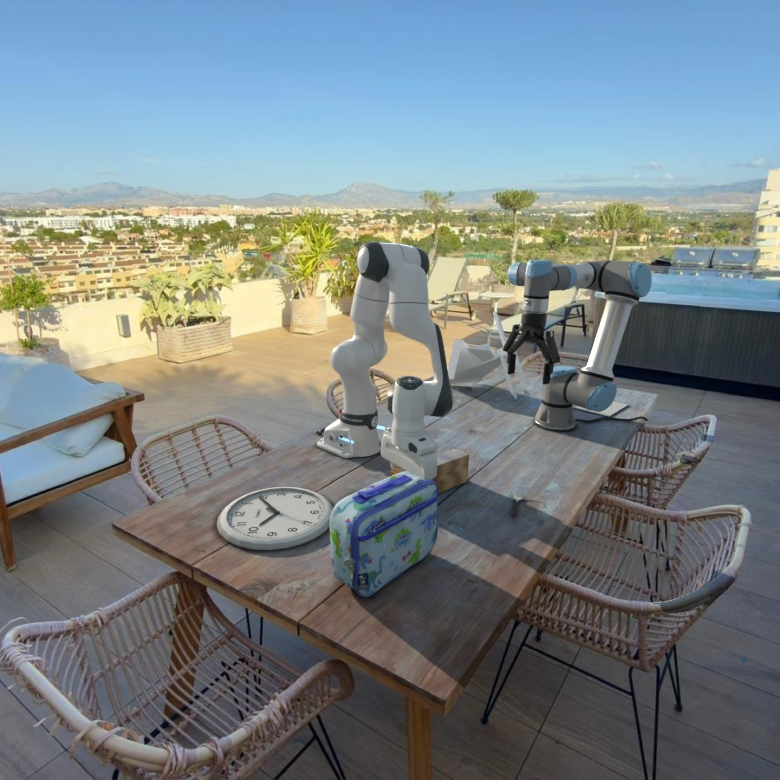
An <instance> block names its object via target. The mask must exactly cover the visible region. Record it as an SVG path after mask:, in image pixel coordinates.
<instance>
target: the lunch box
mask: <svg viewBox="0 0 780 780" xmlns="http://www.w3.org/2000/svg"><path fill="white" fill-rule="evenodd" d="M438 531H439V493H438V488H437V485H436V483H435V482H434V481H431V480H425V479H423V478H421V477H419V476H417V475H415V474H414V473H411V472H409V471H404V472H400V473H398V474H395V475H393V476H391V477H390V476H388V477H386V478H384V479H382V480H379V481H377V482H375V483H373V484H371V485H368V486H366V487H364V488H362V489H360V490H358V491H356V492H353V493H352V494H350V495H347V496H345V497H343V498H342V499H340V500H339V501H338V502H337V503H335V505H334V506H333V510H332V513H331V516H330V526H329V541H330V565H331V572H332V575H333V577H334V579H335V580H337V581H339V582H341V583H343V584H345V585H347V586H348V587H349V588H351V589H352V590H354V592H355V594H357V595H359V596H360V597H363V598H369V597H371V596H374V595H375V594H376V593H377V592H378V591H380V590H381V589H383V588H384V587H385V586H386V585H387V584H389V583H390V582H392V581H393V580H395V579H397V578H398V577H399V576H400V575H402V574H403V573H404V572H405V571H406V570H408V569H409V568H410V567H412V566H413V565H416V564H417V563H419V562H421V561H422V560H424V559H425V558H426V557H428V555H430V553H431V552H432V550H433V549H434V547H435V545H436V542H437V540H438Z"/></svg>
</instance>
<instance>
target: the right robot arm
mask: <svg viewBox="0 0 780 780" xmlns="http://www.w3.org/2000/svg"><path fill="white" fill-rule="evenodd" d="M507 280H508V282H509V283H510V285H513V286H517V287H524V290H523V298H522V307H521V308H522V309H521V310H522V313H521V320H520V323H521V324H520V323H516V324H513V325H512V328H511V332H510V333H509V336H508V338H507V339H506V340H507V341H506V343H505V345H504V347H503V346H502V348H503V351H505V352H507V354H508V356H507V365H508V374H509V375H514V374H515V373H516V366H515V364H516V354H513V353H516V352H517V351H518V349H519V348H520V347H522V345H523V344H524V343H525V342H528V343H529V342H530V343H532V344H535V345H536V346H538V348H539V350H540V352H541V354H542V356H543V358H544V359H545V363H544V366H543V374H542V383H541V384H542V394H541V402H540V405H539V407H538V409H536V408H535V409H534V412H535V417H534V424H535V425H536V426H537V427H539V428H542V429H544V430H549V431H556V432H567V431H572V430H574V429H575V428H576V422H579V423H594V422H596V421H602V420H610V421H611V420H612V421H621V422H632V421H633V422H634V421H637V420H644V421H646V422H649V419H648V418H647V417H645V416H637V417H633V418H621V417H612V416H609V417H608V416H600V417H597V418H594V419H581V418H575V417H576V416H575V413H574V407H573V406H575V407H576V406H579V407H582V408H585V409H587V410H592V411H596V412H601V411H604V410H606V409H607V408H608V407H609V406H610V405H611V404H612V402H613V401H614V402H615V399H616V396H617V394H618V393H617V392H618V390H617V389H618V387H617V384H616V383H615V382H614V379H615V377H614V374H613V372H612V371H613V368H614V365H615V362H616V359H617V356H618V352H619V349H620V346H621V343H622V339H623V336H624V333H625V331H626V327H627V324H628V321H629V318H630V315H631V311H632V309H633V307H634V306H636V305H638V304H639V302H640V300H641V299H642V298H645V297H647V296H648V294H649V293H650V290H651V288H652V282H653V278H652V271H651V269H650V267H649V266H648V264H646V263H644V262H639V261H630V260H629V261H626V260H610V259H603V260H601V259H600V260H594V261H593V260H592V261H580V262H577V263H576V264H573V263H572V264H571V263H553V261H552V260H549V259H529V260H528V261H527V262H521V261H520V262H514V263H512V264H511V265H510V266H509V268H508V270H507ZM574 287H575V288H576V289H581V290H582V289H583V290H589V291H594V292H599V293H604V295H603V297H604V299H605V300H606V302H605V306H604V310H603V312H602V316H601V319H600V322H599V325H598V328H597V333H596V334H595V338H594V341H593V343H592V348H591V351H590V354H589V357H588V360H587V364H586V366H584V367H582V368H581V369H580V371H579V373H578V368H577V367H576V366H571V365H570V366H569V365H557V366H556V365H555V364H557V363H560V362H561V357H560V353H559V349H558V346H557V343H556V340H555V331H554V330H553V329H551V330H546V326H547V322H548V321H547V319H548V313H547V312H548V310H549V301H550V293H551V292H555V291H556V292H557V291H562V292H563V291H567V290H570V289H572V288H574ZM640 298H641V299H640ZM520 333H521V334H520ZM519 334H520V335H519ZM515 351H516V352H515Z"/></svg>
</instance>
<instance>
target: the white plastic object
mask: <svg viewBox="0 0 780 780" xmlns="http://www.w3.org/2000/svg"><path fill="white" fill-rule="evenodd" d="M492 315H493V319H494V321H495V324H496V325H495V326H496V328H497V332H498V335H499V338H500V342H501V345H502V347H500V348H498V349H496V350H495V349H493V348H492V347H491V346H490V344H489V343H488V342H487V343H483V344H479V345H473V346H469V345H468V343H466V342H465V340H464V339H463V338H460V339H458V338H454V340H453V344H452V349H451V353H450V357H449V362H448V365H447V369H448V376H449V381H450V385H458V384H467V383H468V384H469V383H473V384H477V383H480V382H482V381H484V378H485V377H486V376H487V375H489V374H490V373H492V372H494V371H495V370H496V369H497V368H499V367H500V366H502V370H503V373H504V376H505V380H506V383H507V386H508V390H509V393H510V394H511V395H512V397H513V398H514V399H515V400H517V392H516V391H517V390H516V388H515V385H514V381H513V378H512V374H510V375H509V374H508V363H507V356H508V354H507V352H505V351H503V347H504V345H505V343H506V341H507V340H508V339H507V337H506V334H505V331H504V328H503V325H502V321H501V318H500V315H499V314H498V312H497V311H496V310H495V311H492ZM515 352H516V353H513V354H516V364H515V370H516V372H517V376H518V380H519V382H520V385H521V389H522V391H523V393H524V395H525V396H526V397H528V396H531V395H530V390H529V388H528V387H529V386H528V384H527V381H526V378H525V375H524V371H523V369H522V368H523V367H522V366H521V362H520V359H519V355H518V352H517V350H516V351H515Z"/></svg>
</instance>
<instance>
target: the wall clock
mask: <svg viewBox="0 0 780 780" xmlns="http://www.w3.org/2000/svg"><path fill="white" fill-rule="evenodd" d="M333 508H334V505H333V504H332V503H331V502H330V500H329V499H328V498H327V497H325V496H323V495H322V494H321V493H319V492H316V491H313V490H311V489H307V488H302V487H296V486H279V487H278V486H277V487H267V488H263V489H258V490H255V491H251V492H249V493H246V494H243V495H242V496H240V497H238V498H235V499H234V500H232V501H231V502H230V503H228V505H226V506H225V507H223V509H222V510H221V512H220V514H219V515H218V517H217V521H216V529H217V531H218V533H219V535H220V536H221V537H222V538H223V539H224V540H225V541H226V542H227V543H230V544H233V545H235V546H236V547H239V548H244V549H249V550H257V551H274V550H285V549H289V548H292V547H297V546H301V545H304V544H306V543H308V542H310V541H312V540H315V539H317V538H318V537H319V536H321V535H323V534H324V533H325V532H326V531H328V529H330V516H331V513H332V510H333Z"/></svg>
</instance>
